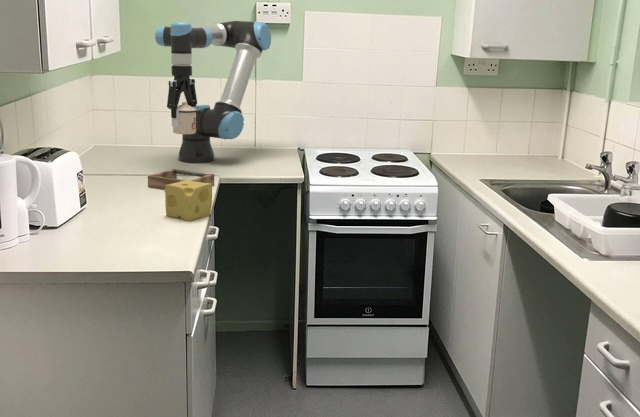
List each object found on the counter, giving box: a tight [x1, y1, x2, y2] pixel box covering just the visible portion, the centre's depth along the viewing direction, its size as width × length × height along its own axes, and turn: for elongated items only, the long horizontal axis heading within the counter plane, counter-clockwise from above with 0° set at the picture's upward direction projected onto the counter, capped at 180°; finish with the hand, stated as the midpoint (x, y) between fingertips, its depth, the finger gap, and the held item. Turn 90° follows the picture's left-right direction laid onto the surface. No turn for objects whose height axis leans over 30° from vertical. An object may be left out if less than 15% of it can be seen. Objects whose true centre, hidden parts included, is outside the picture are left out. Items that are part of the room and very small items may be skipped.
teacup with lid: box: [172, 101, 197, 135], centre depth 267 cm, size 12×9×12 cm
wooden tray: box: [147, 168, 215, 191], centre depth 252 cm, size 15×18×4 cm
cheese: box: [164, 179, 213, 222], centre depth 214 cm, size 10×11×10 cm
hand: (182, 125), depth 267 cm, fingers closed on teacup with lid, 9 cm apart
